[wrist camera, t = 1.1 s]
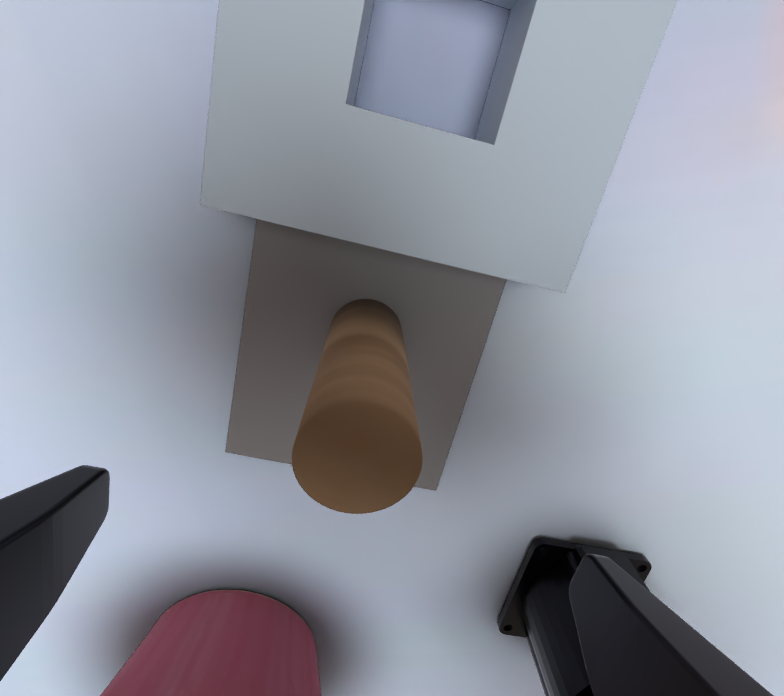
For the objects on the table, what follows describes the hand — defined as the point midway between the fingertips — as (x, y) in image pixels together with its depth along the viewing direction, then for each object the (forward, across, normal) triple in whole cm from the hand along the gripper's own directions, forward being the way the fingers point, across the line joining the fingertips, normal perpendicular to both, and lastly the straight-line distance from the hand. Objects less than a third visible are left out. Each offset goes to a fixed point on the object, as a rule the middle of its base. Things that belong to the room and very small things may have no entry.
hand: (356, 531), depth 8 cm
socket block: (+11, 0, -10) cm, 15 cm away
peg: (+11, 0, 0) cm, 11 cm away
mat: (+11, 0, 0) cm, 11 cm away
